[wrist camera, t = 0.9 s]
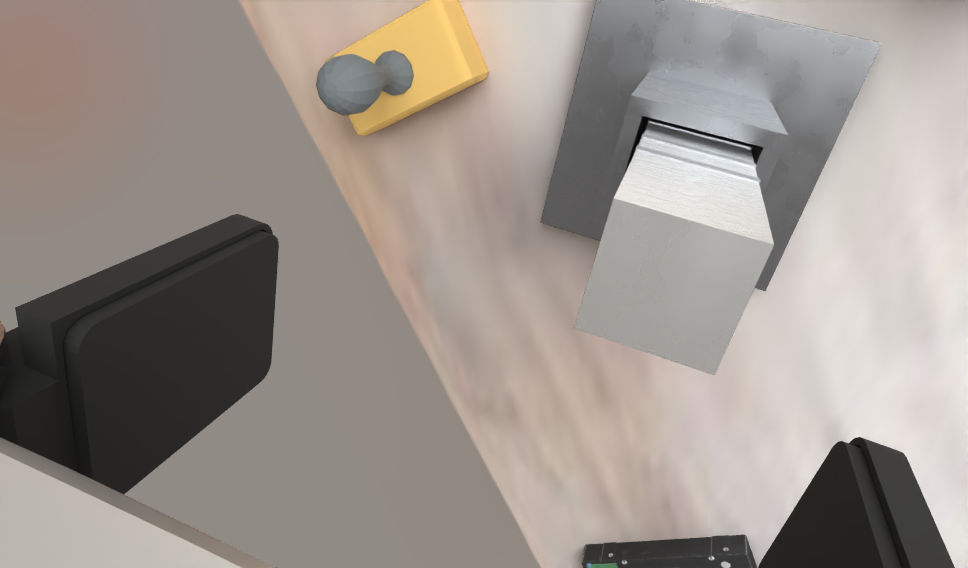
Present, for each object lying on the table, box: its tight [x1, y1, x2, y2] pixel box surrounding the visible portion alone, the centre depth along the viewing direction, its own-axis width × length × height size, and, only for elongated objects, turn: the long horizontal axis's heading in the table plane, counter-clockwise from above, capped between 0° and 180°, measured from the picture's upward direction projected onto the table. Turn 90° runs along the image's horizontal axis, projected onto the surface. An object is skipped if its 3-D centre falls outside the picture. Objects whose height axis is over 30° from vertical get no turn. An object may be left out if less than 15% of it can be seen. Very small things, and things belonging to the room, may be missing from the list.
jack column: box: [574, 118, 774, 375], centre depth 30 cm, size 5×5×22 cm
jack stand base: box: [541, 0, 882, 291], centre depth 36 cm, size 16×16×12 cm
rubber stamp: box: [316, 0, 489, 136], centre depth 40 cm, size 10×6×12 cm, turn 116°
